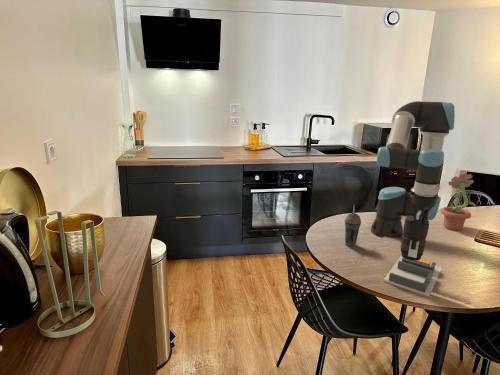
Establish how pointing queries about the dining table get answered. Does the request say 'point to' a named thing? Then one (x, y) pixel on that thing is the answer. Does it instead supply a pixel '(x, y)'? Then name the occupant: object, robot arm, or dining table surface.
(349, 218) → the beverage cup
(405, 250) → the camera lens
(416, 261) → the orange rectangular brick
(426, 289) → the board
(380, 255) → the dining table surface
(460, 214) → the decorative flower
